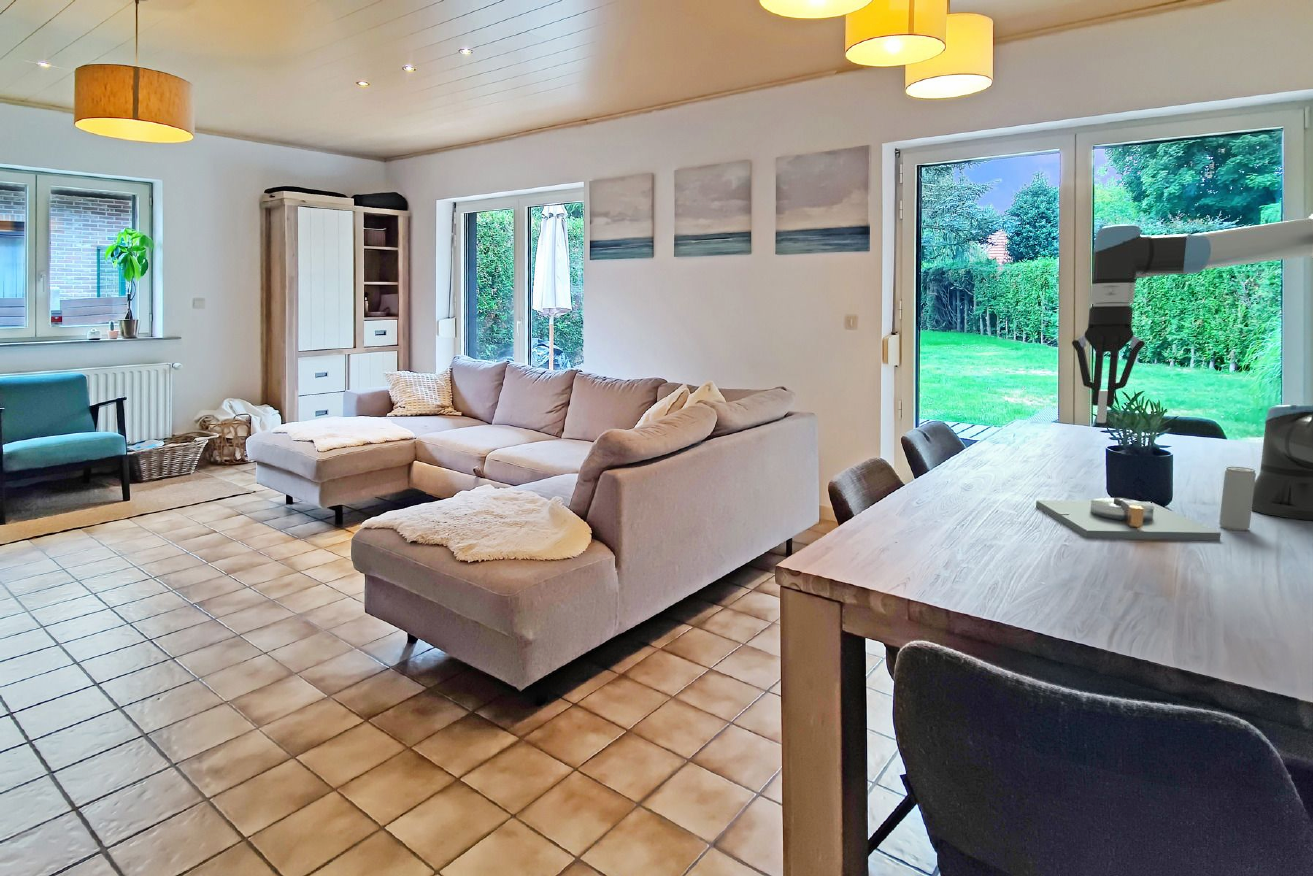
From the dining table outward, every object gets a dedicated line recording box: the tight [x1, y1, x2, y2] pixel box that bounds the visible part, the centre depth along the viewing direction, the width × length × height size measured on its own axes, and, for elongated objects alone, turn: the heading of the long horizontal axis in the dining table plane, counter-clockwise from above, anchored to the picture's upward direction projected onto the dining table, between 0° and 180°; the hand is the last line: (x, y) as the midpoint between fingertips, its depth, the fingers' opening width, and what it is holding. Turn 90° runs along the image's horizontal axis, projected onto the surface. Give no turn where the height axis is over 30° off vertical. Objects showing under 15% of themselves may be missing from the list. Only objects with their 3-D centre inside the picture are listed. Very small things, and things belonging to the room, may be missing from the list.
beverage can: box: [1218, 466, 1257, 532], centre depth 149 cm, size 5×5×12 cm
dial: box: [1090, 497, 1154, 527], centre depth 152 cm, size 16×11×4 cm
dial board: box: [1035, 499, 1222, 541], centre depth 155 cm, size 24×24×2 cm
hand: (1101, 421), depth 155 cm, fingers closed
